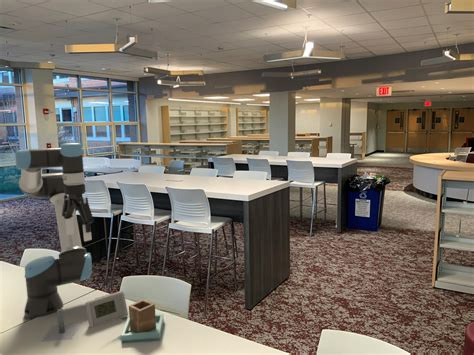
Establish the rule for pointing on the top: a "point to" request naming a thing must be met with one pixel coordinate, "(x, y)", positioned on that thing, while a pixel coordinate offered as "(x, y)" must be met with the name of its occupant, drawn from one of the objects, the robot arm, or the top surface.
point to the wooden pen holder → (142, 316)
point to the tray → (144, 336)
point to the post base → (56, 332)
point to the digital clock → (106, 308)
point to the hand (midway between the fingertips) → (79, 237)
